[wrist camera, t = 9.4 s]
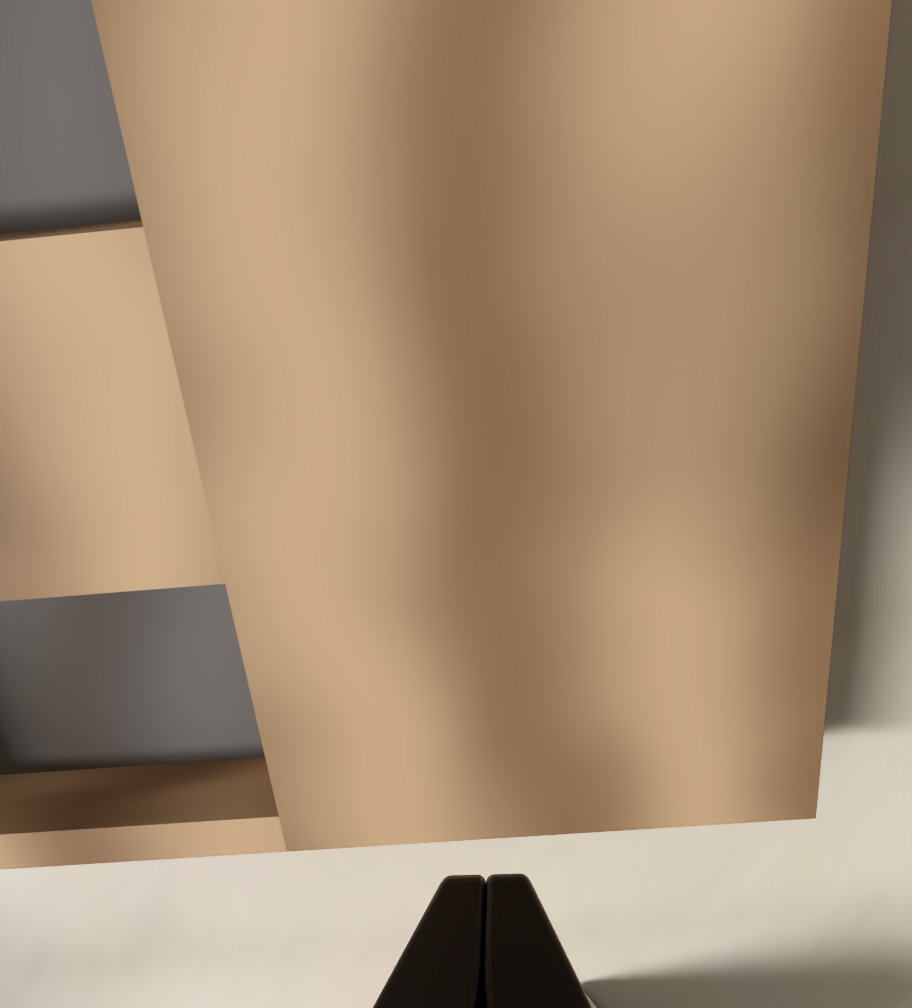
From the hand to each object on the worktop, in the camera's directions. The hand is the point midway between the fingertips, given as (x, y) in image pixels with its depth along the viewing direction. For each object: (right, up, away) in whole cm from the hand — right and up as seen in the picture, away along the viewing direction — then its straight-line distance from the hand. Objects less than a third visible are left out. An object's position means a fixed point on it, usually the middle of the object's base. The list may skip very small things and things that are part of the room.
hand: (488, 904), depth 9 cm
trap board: (-7, +6, +9) cm, 13 cm away
